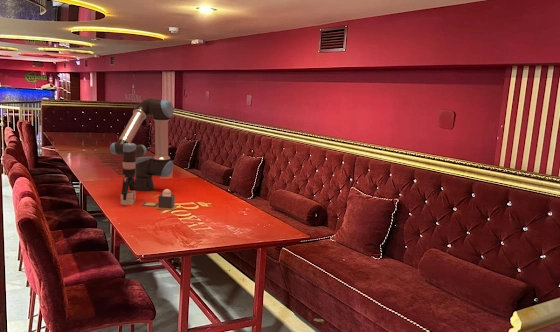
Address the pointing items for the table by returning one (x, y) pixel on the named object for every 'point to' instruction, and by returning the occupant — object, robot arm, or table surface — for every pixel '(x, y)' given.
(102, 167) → the table surface
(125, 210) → the table surface
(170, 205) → the button box
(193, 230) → the table surface
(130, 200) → the die
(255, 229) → the table surface
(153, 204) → the pad
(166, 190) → the dome plunger
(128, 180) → the robot arm
